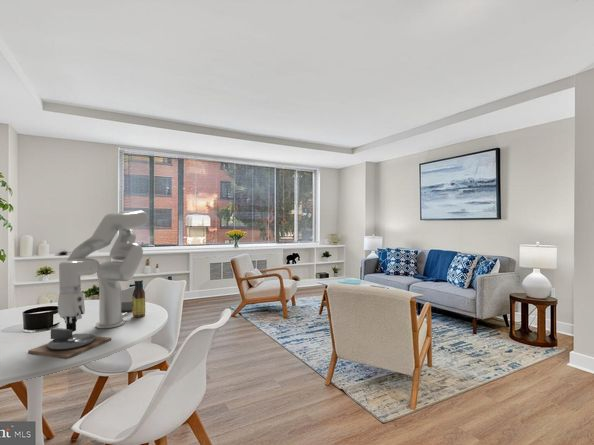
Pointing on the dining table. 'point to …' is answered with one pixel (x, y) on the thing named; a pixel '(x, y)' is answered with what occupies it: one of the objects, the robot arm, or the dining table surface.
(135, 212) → the robot arm
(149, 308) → the dining table surface
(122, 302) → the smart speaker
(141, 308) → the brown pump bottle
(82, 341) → the dial
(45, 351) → the dial base plate
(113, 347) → the dining table surface
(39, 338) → the dining table surface
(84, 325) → the dining table surface
